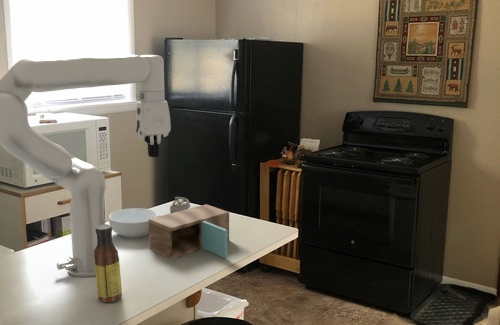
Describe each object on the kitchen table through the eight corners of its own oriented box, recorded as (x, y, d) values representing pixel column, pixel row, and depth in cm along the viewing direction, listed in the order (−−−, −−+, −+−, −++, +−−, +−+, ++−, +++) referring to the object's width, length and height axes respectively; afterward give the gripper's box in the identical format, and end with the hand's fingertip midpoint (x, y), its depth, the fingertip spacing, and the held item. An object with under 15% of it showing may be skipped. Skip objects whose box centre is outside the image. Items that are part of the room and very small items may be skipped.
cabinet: (171, 258, 174) (170, 228, 172) (149, 248, 183) (148, 218, 180) (229, 240, 190) (229, 212, 188) (206, 231, 199) (206, 204, 197)
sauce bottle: (124, 293, 151) (121, 222, 146) (119, 303, 145) (116, 230, 140) (99, 293, 150) (95, 222, 146) (93, 304, 144) (89, 230, 140)
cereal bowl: (139, 246, 185) (138, 225, 183) (99, 238, 192) (98, 218, 190) (168, 230, 200) (167, 211, 198) (130, 223, 207) (129, 205, 205)
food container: (188, 233, 196) (187, 206, 194) (170, 233, 197) (170, 206, 194) (192, 222, 208) (192, 196, 206) (175, 222, 209) (175, 196, 206)
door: (230, 256, 175) (230, 229, 173) (224, 258, 174) (224, 230, 172) (207, 246, 184) (206, 219, 182) (201, 247, 182) (201, 221, 180)
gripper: (137, 99, 161) (139, 162, 165) (179, 96, 172) (180, 155, 175) (123, 97, 167) (125, 158, 171) (164, 94, 177) (166, 151, 181)
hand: (153, 156), depth 173 cm, fingers closed
